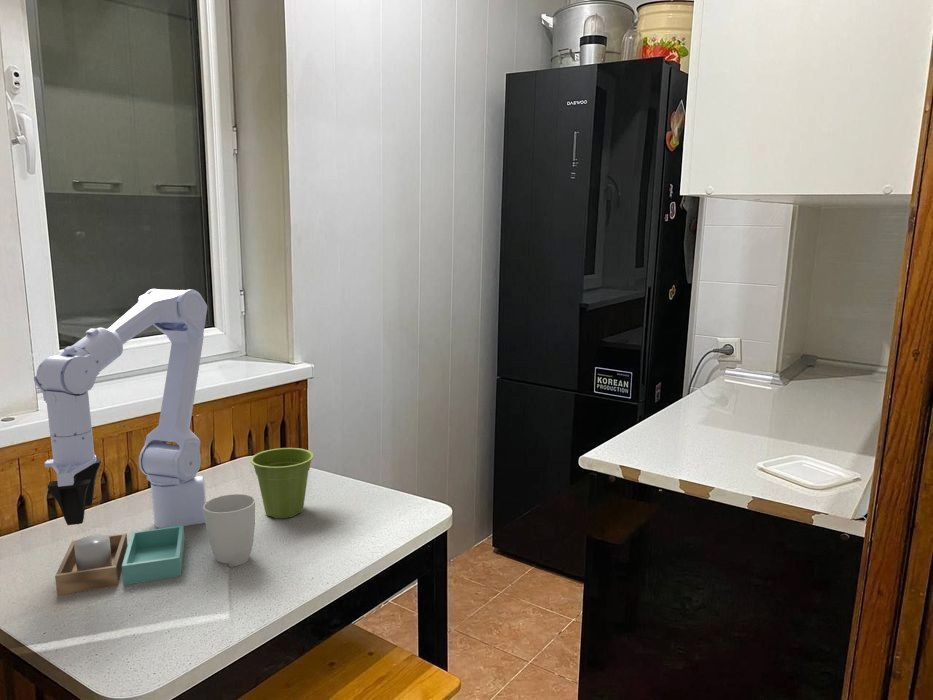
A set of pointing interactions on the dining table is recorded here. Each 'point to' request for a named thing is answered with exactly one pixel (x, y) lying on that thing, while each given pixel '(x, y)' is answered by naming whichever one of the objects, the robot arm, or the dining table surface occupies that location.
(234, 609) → the dining table surface
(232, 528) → the cup
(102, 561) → the white rounded cube
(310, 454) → the plant pot
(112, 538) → the walnut bin
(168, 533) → the teal bin
